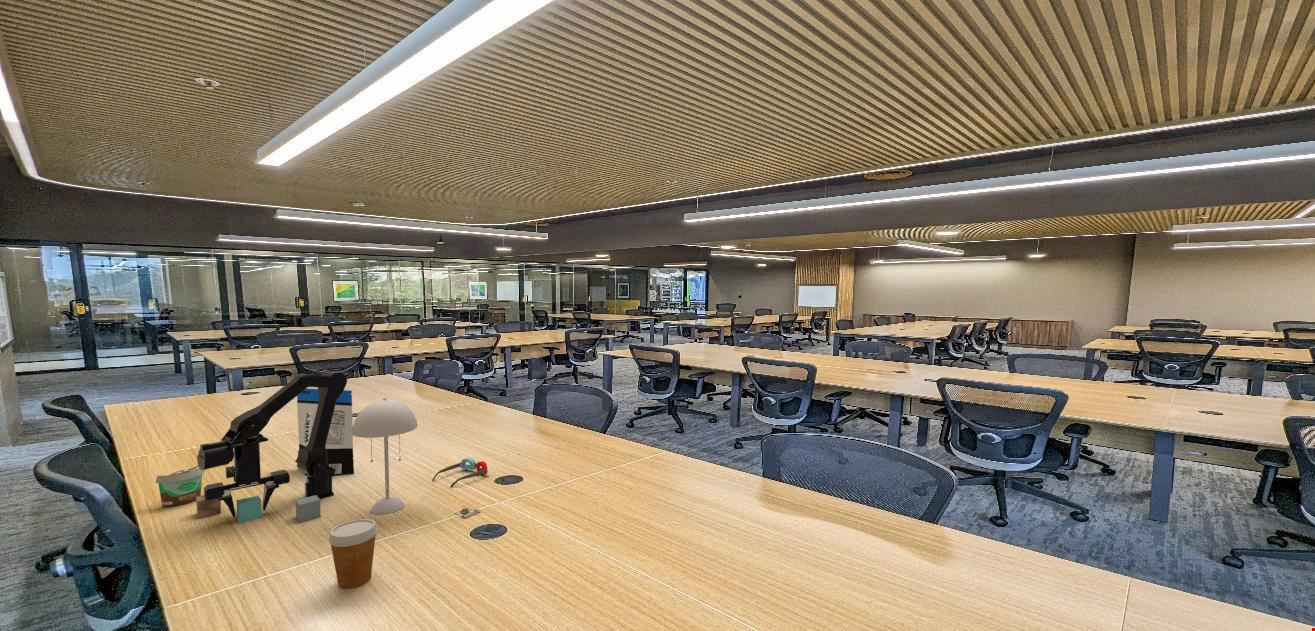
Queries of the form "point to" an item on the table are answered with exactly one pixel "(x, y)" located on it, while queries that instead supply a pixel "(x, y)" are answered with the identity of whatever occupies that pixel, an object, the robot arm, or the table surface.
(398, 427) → the lamp
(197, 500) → the walnut block
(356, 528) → the disposable coffee cup
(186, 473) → the food container
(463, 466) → the novelty glasses
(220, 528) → the table surface
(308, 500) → the slate block
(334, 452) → the protein powder
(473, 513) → the small grey metal mechanism
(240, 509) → the teal block
